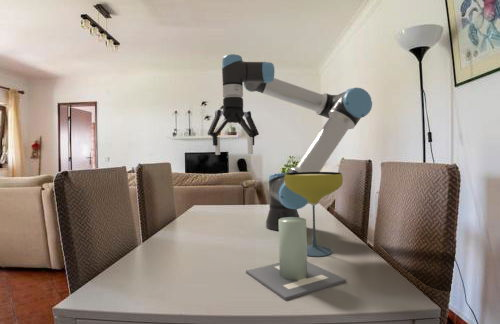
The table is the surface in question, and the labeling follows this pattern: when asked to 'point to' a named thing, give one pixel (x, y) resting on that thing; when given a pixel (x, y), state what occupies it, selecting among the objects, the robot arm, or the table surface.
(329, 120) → the robot arm
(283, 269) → the green canister
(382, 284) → the table surface
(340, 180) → the cocktail glass
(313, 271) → the letter board
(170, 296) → the table surface
